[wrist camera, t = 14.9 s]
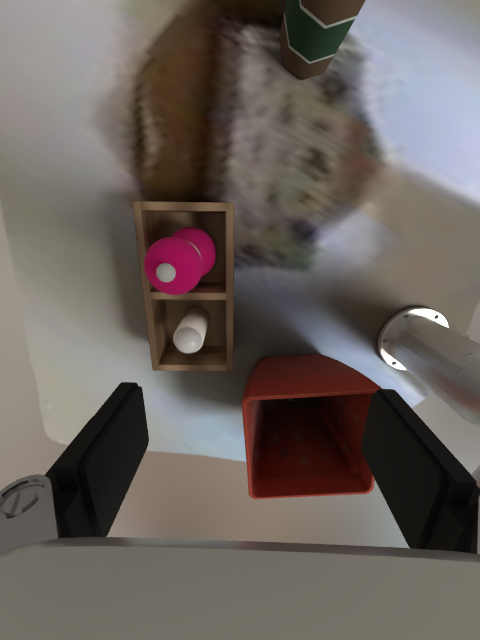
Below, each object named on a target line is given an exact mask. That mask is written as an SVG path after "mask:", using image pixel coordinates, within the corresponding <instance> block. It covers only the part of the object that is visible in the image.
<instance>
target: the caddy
mask: <svg viewBox="0 0 480 640" xmlns="http://www.w3.org/2000/svg"><path fill="white" fill-rule="evenodd" d="M132 205H133V213H134V221H135V229H136V238H137V246H138V254H139V262H140V270H141V279H142V287H143V295H144V303H145V311H146V319H147V328H148V336H149V344H150V352H151V360H152V369H153V370H173V371H233V353H234V203H212V202H142V201H132ZM186 227H195V228H199V229H201V230H203V231H205V232H206V233H207V234H208V235H209V236H210V237H211V238H212V240H213V242H214V244H215V247H216V254H217V255H216V261H215V263H214V266H213V267H212V269H211V270H210V271H209V272H208V273H206V274H205V275H203V276H201V278H200V280H199V282H198V284H197V285H196V286H195V287H194V288H193V289H192V290H190V291H188V292H186V293H184V294H180V295H169V294H165V293H163V292H161V291H159V290H157V289H156V288H155V287H154V286H153V285H152V284H151V283H150V282H149V280H148V278H147V276H146V274H145V270H144V259H145V256H146V253H147V251H148V249H149V248H150V247H151V246H152V245H153V244H154V243H155V242H157V241H158V240H160V239H163V238H166V237H171V236H172V235H173V234H174V233H175V232H177V231H178V230H180V229H182V228H186ZM196 306H197V307H202V308H204V309H205V310H206V311H207V312H208V314H209V317H210V320H209V324H208V328H207V331H206V335H205V338H204V342H203V345H202V347H201V348H200V349H199V350H198V351H196V352H193V353H183V352H181V351H179V350H178V349H177V347H176V346H175V344H174V341H173V336H174V333H175V331H176V330H177V328H178V326H179V324H180V322H181V321H182V319H183V317H184V315H185V314H186V312H187V311H188V310H189V309H190V308H192V307H196Z"/></svg>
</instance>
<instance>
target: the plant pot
mask: <svg viewBox="0 0 480 640" xmlns="http://www.w3.org/2000/svg"><path fill="white" fill-rule="evenodd" d="M378 389H382V388H381V387H380V386H378V385H377V384H376V383H374V382H373V381H372V380H370V379H369V378H367V377H366V376H364V375H363V374H361V373H360V372H358V371H356V370H355V369H353V368H351V367H349V366H347V365H346V364H344V363H341V362H339V361H337V360H335V359H332V358H330V357H327V356H324V355H321V354H310V355H294V356H276V357H263V358H261V359H259V360H258V361H257V363H256V364H255V366H254V367H253V369H252V371H251V373H250V375H249V377H248V380H247V383H246V386H245V390H244V394H243V398H242V415H243V426H244V437H245V449H246V461H247V474H248V489H249V496H250V497H251V498H253V499H265V498H266V499H267V498H286V497H308V496H330V495H353V494H367V493H369V492H370V491H372V490H373V486H374V479H375V478H374V476H373V474H372V472H371V470H370V468H369V466H368V464H367V463H366V461H365V459H364V457H363V454H362V451H361V441H362V437H363V432H364V428H365V423H366V419H367V414H368V410H369V405H370V401H371V396H372V394H373V393H376V391H377V390H378ZM289 398H293V399H294V402H292V403H289V402H288V399H289Z"/></svg>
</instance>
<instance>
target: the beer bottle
mask: <svg viewBox="0 0 480 640" xmlns="http://www.w3.org/2000/svg"><path fill="white" fill-rule="evenodd" d="M364 2H365V0H287V3H286V7H285V12H284V16H283V21H282V25H281V30H280V38H279V39H280V45H281V52H282V58H283V64H284V67H285V68H287V69H288V70H289V71H291V72H292V73H293V74H294V75H296V76H297V77H298V78H300V79H301V80H304V79H307V78H310V77H313V76H316V75H319V74H322V73H324V71H325V70H326V68H327V67H328V65H329V63H330V62H331V60H332V58H333V57H334V55H335V53H336V51H337V50H338V48H339V46H340V44H341V43H342V41H343V39H344V37H345V36H346V34H347V32H348V31H349V29H350V27H351V25H352V24H353V22H354V20H355V18H356V17H357V15H358V13H359V11H360V9H361V8H362V6H363V4H364Z"/></svg>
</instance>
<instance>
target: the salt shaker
mask: <svg viewBox="0 0 480 640" xmlns="http://www.w3.org/2000/svg"><path fill="white" fill-rule="evenodd" d="M209 320H210V317H209V314H208V312H207V311H206V310H205V309H204V308H202V307H197V306H196V307H192V308H190V309H189V310H188V311H187V312H186V314H185V315H184V317H183V319H182V321H181V322H180V324H179V326H178V328H177V330H176V331H175V333H174V336H173V341H174V344H175V346H176V347H177V349H178V350H179V351H181V352H183V353H193V352H196V351H198V350H199V349H200V348H201V347H202V345H203V342H204V338H205V335H206V331H207V328H208V324H209Z"/></svg>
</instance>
